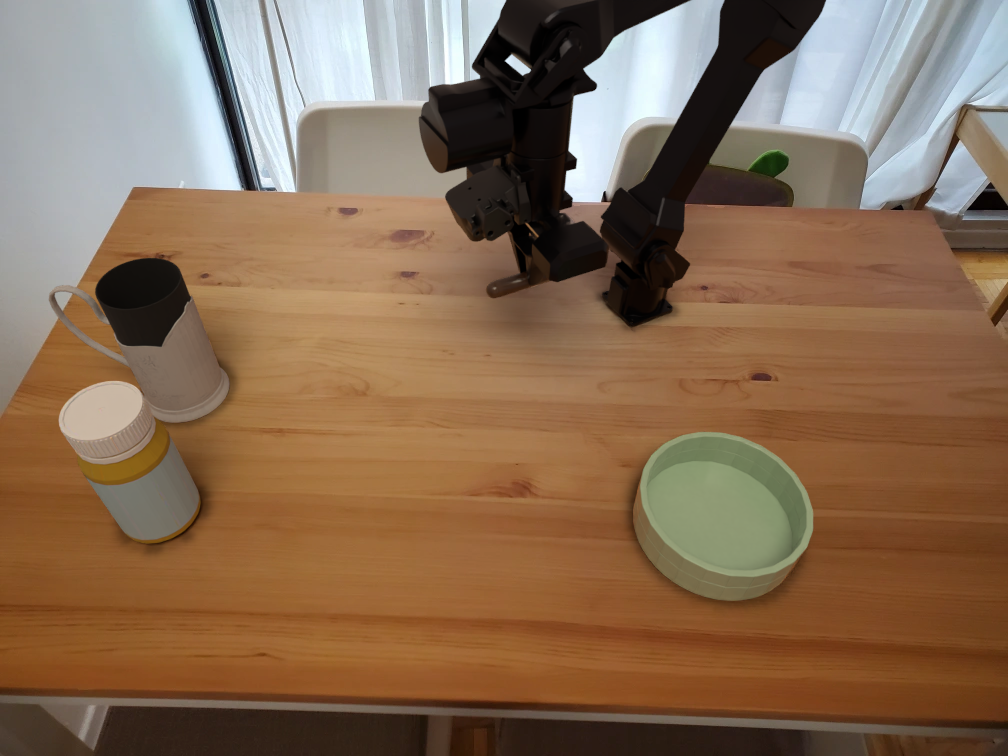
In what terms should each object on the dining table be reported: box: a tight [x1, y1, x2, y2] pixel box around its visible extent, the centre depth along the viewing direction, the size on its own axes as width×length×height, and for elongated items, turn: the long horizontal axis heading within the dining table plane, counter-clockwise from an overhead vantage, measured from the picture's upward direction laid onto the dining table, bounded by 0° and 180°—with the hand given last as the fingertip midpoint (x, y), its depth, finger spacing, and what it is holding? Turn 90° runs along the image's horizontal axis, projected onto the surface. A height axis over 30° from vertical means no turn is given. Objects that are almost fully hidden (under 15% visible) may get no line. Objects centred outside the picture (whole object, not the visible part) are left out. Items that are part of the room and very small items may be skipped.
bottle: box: [58, 380, 202, 544], centre depth 61 cm, size 7×7×15 cm
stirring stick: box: [485, 271, 551, 299], centre depth 76 cm, size 10×2×2 cm, turn 117°
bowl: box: [632, 431, 814, 602], centre depth 66 cm, size 15×15×4 cm
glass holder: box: [48, 257, 231, 424], centre depth 72 cm, size 9×14×15 cm, turn 85°
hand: (528, 278), depth 76 cm, fingers closed on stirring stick, 2 cm apart
